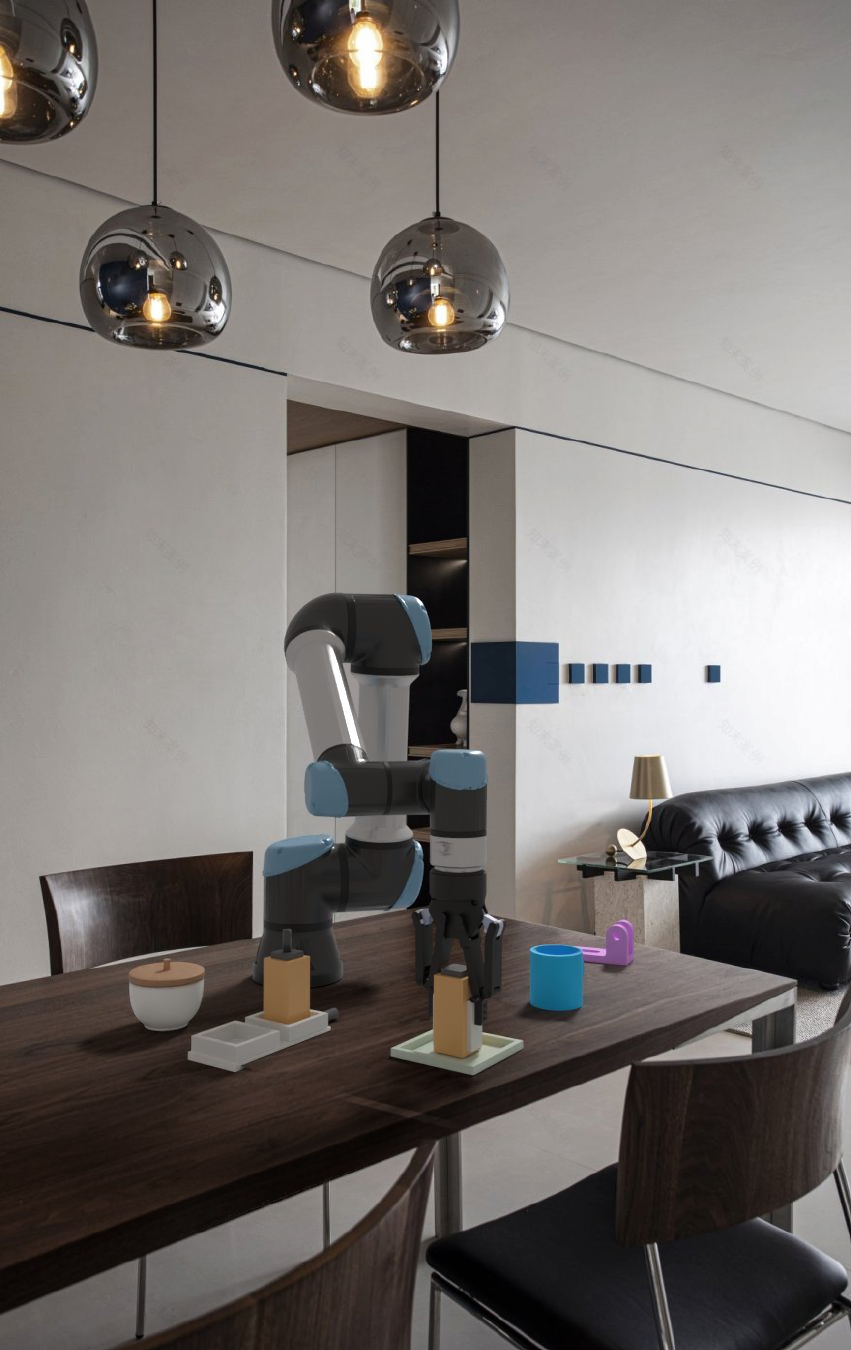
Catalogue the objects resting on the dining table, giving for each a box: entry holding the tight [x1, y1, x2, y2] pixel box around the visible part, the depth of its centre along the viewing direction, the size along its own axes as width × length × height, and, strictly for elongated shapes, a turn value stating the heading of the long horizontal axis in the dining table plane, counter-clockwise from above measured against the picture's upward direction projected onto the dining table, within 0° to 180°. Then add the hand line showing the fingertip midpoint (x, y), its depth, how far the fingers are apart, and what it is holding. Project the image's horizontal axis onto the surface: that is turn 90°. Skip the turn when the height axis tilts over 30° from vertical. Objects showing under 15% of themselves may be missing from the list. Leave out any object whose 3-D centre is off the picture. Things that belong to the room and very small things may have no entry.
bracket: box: [573, 919, 635, 966], centre depth 199 cm, size 13×6×7 cm, turn 66°
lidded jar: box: [128, 958, 206, 1032], centre depth 158 cm, size 11×11×9 cm
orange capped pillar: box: [434, 963, 481, 1058], centre depth 145 cm, size 4×4×11 cm
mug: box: [529, 943, 585, 1012], centre depth 171 cm, size 12×8×8 cm
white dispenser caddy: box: [187, 929, 340, 1073], centre depth 151 cm, size 25×8×15 cm, turn 146°
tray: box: [390, 1029, 524, 1076], centre depth 144 cm, size 13×13×2 cm
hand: (457, 1044), depth 145 cm, fingers closed on orange capped pillar, 4 cm apart
